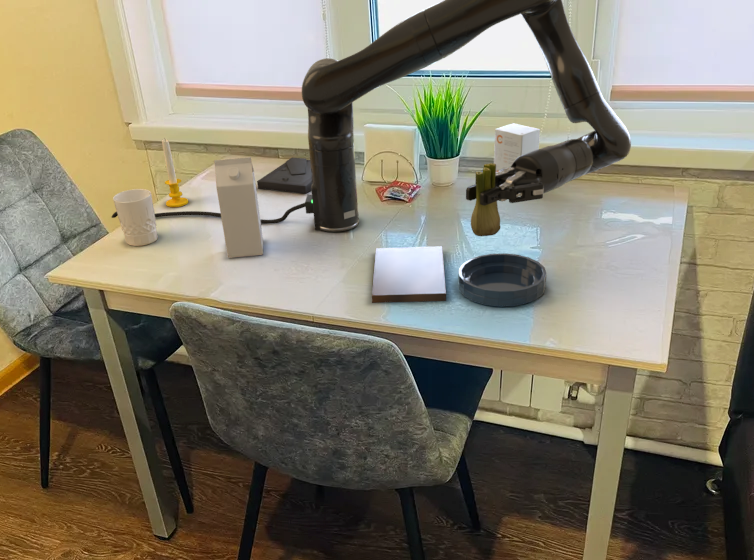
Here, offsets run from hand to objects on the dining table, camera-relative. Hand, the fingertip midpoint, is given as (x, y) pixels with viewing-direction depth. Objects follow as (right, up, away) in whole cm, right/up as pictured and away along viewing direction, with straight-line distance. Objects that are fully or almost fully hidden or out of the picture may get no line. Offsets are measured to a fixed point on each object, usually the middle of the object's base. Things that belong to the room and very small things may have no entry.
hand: (475, 196), depth 130 cm
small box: (+17, +15, +53) cm, 57 cm away
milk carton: (-42, -4, +31) cm, 53 cm away
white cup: (-66, 0, +39) cm, 76 cm away
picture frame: (-34, +20, +65) cm, 76 cm away
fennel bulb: (+3, -5, +6) cm, 8 cm away
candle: (-62, +12, +56) cm, 85 cm away
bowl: (+6, -14, +10) cm, 18 cm away
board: (-10, -11, +16) cm, 22 cm away
